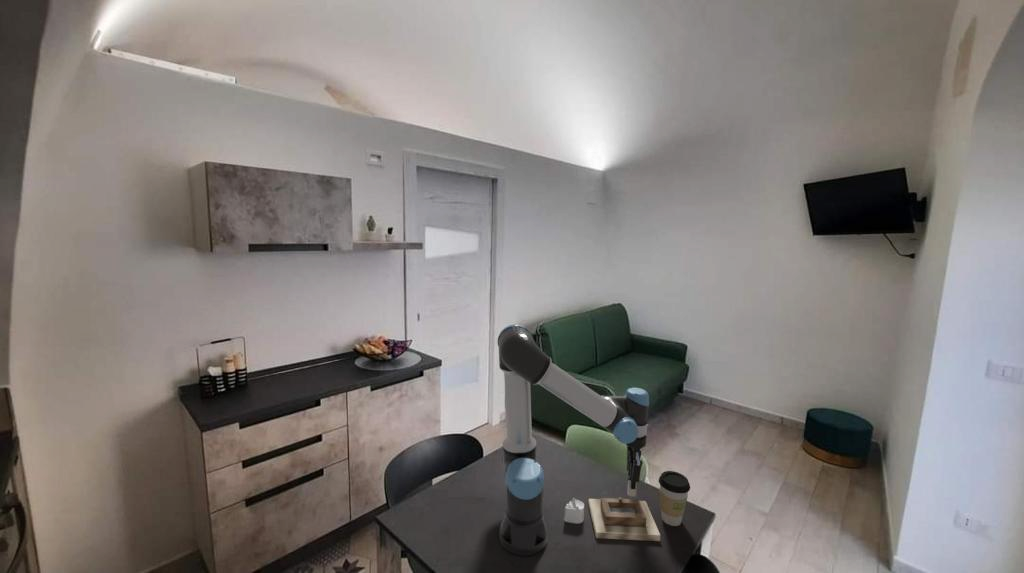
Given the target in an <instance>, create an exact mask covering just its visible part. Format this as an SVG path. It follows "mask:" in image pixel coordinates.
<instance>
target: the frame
mask: <svg viewBox="0 0 1024 573" xmlns="http://www.w3.org/2000/svg"><path fill="white" fill-rule="evenodd" d="M600 499H601V504H600V505H601V509H602V513H603V517H604V521H605V524H612V525H633V526H646V519H647V518H646V516H645V513H644V511H643V508H642V506H641V504H640V501H641V500H640V499H634V498H623V497H620V496H619V497H618V498H612V497H611V498H609V497H600Z"/></svg>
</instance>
